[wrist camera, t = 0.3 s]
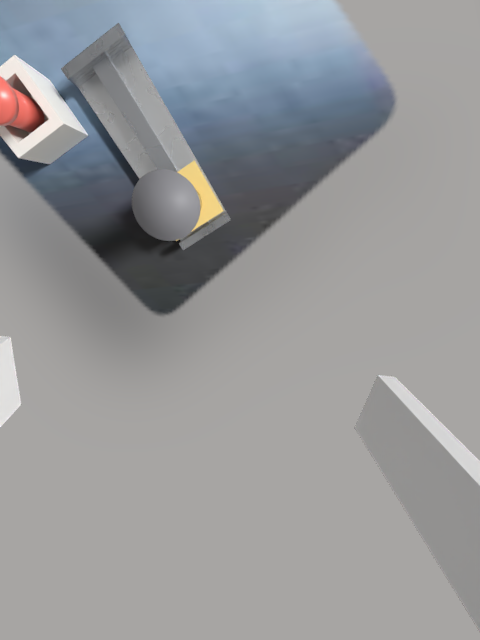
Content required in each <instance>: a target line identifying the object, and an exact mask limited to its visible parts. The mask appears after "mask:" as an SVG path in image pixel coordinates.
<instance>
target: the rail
mask: <svg viewBox="0 0 480 640" xmlns="http://www.w3.org/2000/svg"><path fill="white" fill-rule="evenodd" d="M61 70H62V71H63V73H64V74H65V76H66V77H67V78H68V80H70V81H71V82H72V83H73V84H74V85H76V86H77V87H78V88H79V89H80V91H81V92H82V94H83V95H84V97H85V98H86V100H87V101H88V103H89V104H90V106H91V107H92V109H93V110H94V112H95V113H96V115H97V116H98V118H99V119H100V121H101V122H102V124H103V125H104V127H105V128H106V130H107V131H108V133H109V134H110V136H111V137H112V139H113V140H114V142H115V143H116V145H117V146H118V148H119V149H120V151H121V152H122V154H123V155H124V157H125V158H126V160H127V161H128V163H129V164H130V166H131V167H132V169H133V170H134V172H135V173H136V175H137V176H138V178H139V179H140V178H141V177H142V176H144V175H145V174H147V173H148V172H150V171H153V170H157V169H168V170H172V171H175V172H178V171H179V170H181V169H182V168H184V167H185V166H187V165H188V164H190V163H191V162H193V161H194V160H195V161H196V163H197V165H198V167H199V168H200V170H201V172H202V174H203V175H204V177H205V179H206V181H207V182H208V184H209V186H210V188H211V189H212V191H213V193H214V195H215V196H216V198H217V200H218V202H219V203H220V205H221V207H222V209H223V210H224V211H223V212H221V213H220V214H218V215H217V216H215V217H213V218H212V219H210V220H209V221H207V222H206V223H204V224H203V225H201V226H200V227H198V228H196V229H195V230H193V231H192V232H190V233H189V234H188V235H187V236H185V237H183V238H181V239H180V240H181V241H180V243H179V245H180V246H181V248H182V249H183V250H184V249H186V248H187V247H189V246H190V245H192V244H194V243H195V242H197V241H198V240H200V239H201V238H203V237H205V236H206V235H208V234H209V233H211V232H212V231H214V230H216V229H217V228H219V227H220V226H222V225H223V224H225V223H227V222H228V221H230V220H231V219H230V217H229V215H228V214H227V212H226V211H225V209H224V207H223V205H222V204H221V202H220V200H219V198H218V197H217V195H216V193H215V191H214V190H213V188H212V186H211V184H210V183H209V181H208V179H207V177H206V176H205V174H204V172H203V170H202V169H201V167H200V165H199V163H198V162H197V160H196V158H195V156H194V155H193V153H192V151H191V149H190V148H189V146H188V144H187V142H186V141H185V139H184V137H183V135H182V134H181V132H180V130H179V128H178V127H177V125H176V123H175V121H174V120H173V118H172V116H171V114H170V113H169V111H168V109H167V107H166V106H165V104H164V102H163V100H162V99H161V97H160V95H159V93H158V92H157V90H156V88H155V86H154V85H153V83H152V81H151V79H150V78H149V76H148V74H147V72H146V71H145V69H144V67H143V65H142V63H141V62H140V60H139V58H138V56H137V55H136V53H135V51H134V49H133V48H132V46H131V44H130V42H129V40H128V39H127V37H126V35H125V33H124V31H123V30H122V28H121V26H120V24H119V23H117V24H116V25H115V26H114V27H112V28H111V29H110V30H109V31H107V32H106V33H105V34H104V35H102V36H101V37H100V38H99V39H97V40H96V41H95V42H94V43H92V44H91V45H90V46H89V47H87V48H86V49H85V50H84V51H82V52H81V53H80V54H79V55H77V56H76V57H75V58H74V59H72V60H71V61H70V62H69V63H67V64H66V65H65V66H64V67H62V68H61Z"/></svg>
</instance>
